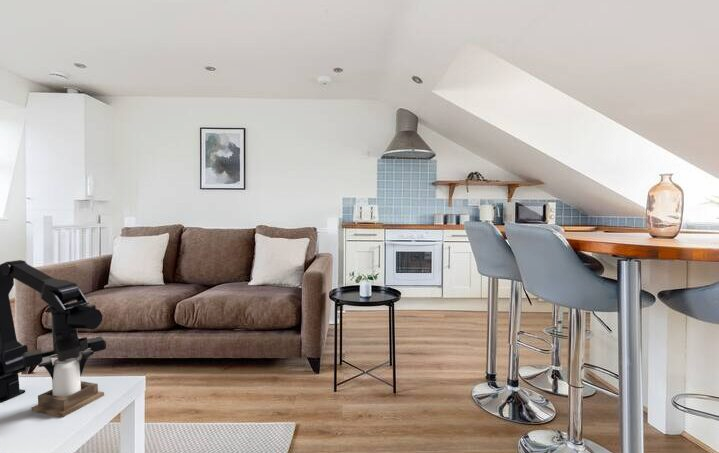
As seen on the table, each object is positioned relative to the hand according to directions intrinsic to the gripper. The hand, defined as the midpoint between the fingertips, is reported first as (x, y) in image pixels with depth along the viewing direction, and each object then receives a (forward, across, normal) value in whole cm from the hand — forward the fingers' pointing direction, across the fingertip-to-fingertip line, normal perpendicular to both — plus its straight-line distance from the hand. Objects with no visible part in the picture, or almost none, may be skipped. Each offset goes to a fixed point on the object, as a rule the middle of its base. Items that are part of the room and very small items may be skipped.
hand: (67, 379), depth 108 cm
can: (+6, 0, 0) cm, 6 cm away
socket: (+7, 0, 0) cm, 7 cm away
